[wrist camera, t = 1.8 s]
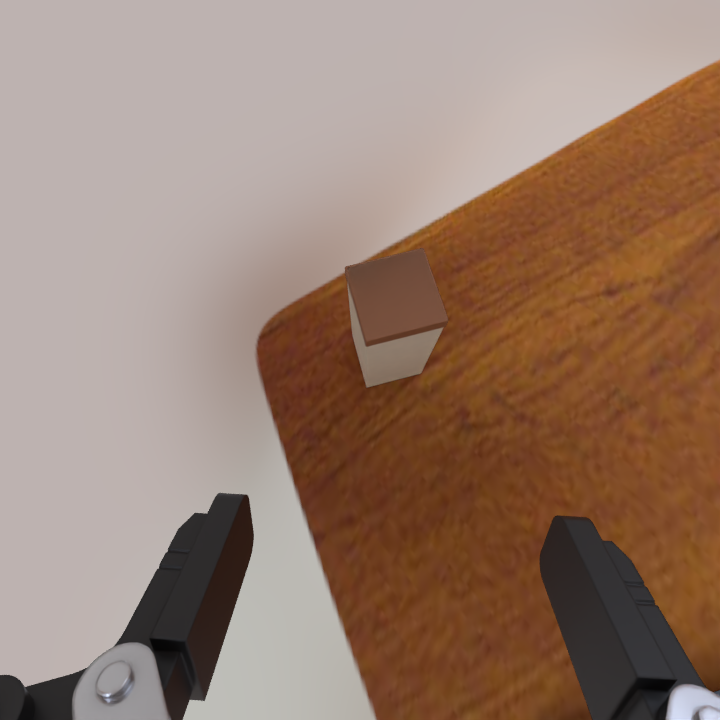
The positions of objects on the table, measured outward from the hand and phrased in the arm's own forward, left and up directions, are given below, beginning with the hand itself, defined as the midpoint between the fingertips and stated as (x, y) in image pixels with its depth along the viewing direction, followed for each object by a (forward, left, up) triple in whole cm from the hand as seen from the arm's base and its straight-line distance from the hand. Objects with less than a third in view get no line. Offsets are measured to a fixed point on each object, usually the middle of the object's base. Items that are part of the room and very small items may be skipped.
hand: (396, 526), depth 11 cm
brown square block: (+3, +9, -14) cm, 16 cm away
